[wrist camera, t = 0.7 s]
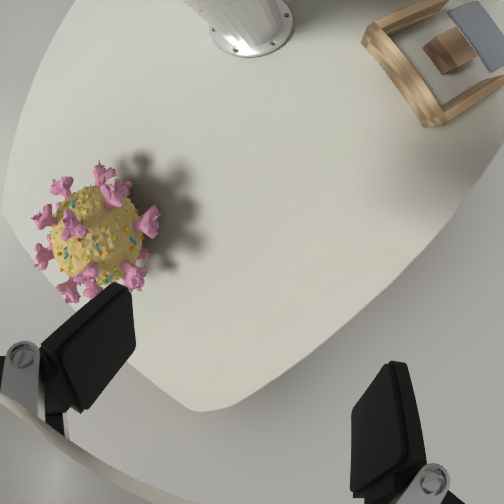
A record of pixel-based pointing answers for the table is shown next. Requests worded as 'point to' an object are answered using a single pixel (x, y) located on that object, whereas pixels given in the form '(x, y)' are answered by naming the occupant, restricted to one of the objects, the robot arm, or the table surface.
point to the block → (449, 50)
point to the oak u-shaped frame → (407, 75)
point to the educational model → (95, 235)
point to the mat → (481, 33)
